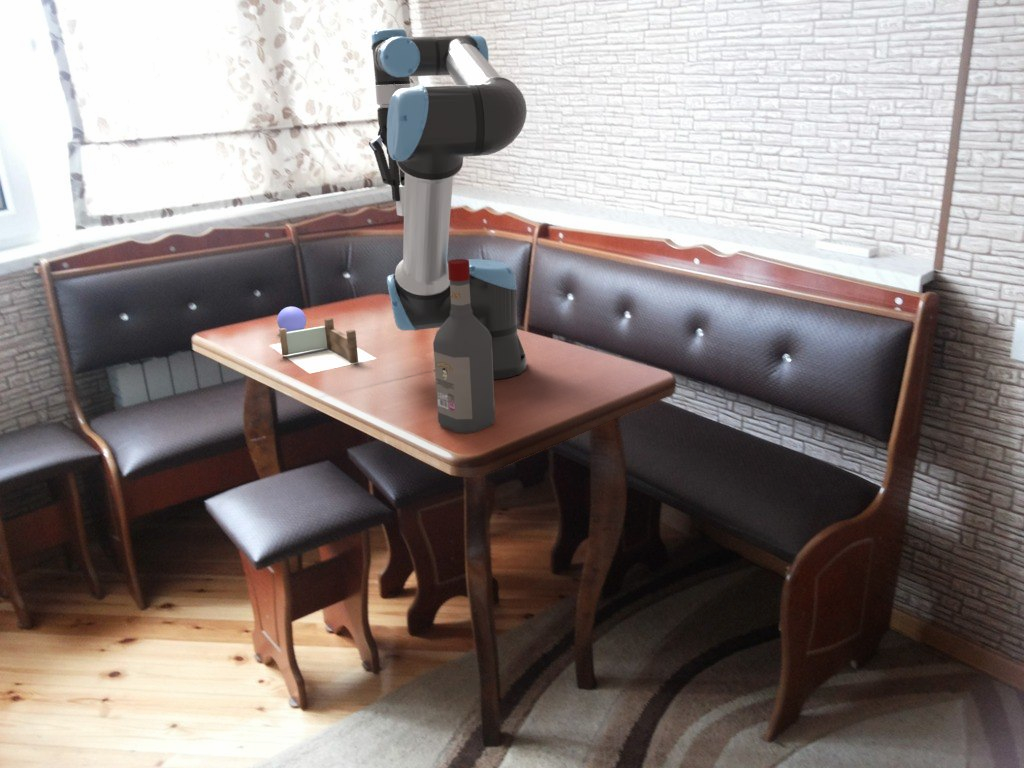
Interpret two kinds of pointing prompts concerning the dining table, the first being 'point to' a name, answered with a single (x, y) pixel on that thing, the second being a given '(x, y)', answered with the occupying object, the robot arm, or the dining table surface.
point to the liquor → (463, 361)
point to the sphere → (291, 319)
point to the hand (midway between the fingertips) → (402, 215)
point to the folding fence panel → (302, 340)
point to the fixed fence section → (341, 341)
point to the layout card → (321, 359)
